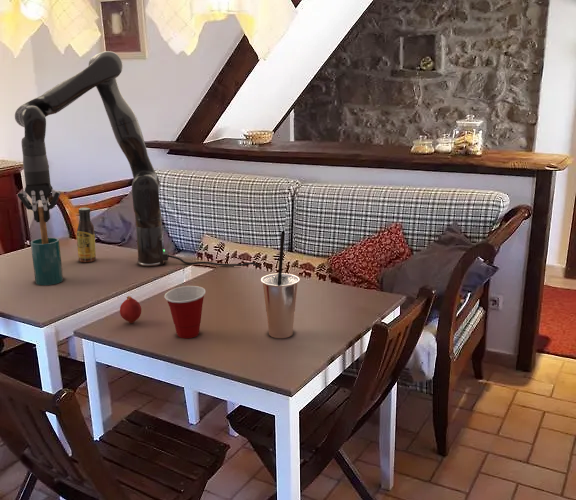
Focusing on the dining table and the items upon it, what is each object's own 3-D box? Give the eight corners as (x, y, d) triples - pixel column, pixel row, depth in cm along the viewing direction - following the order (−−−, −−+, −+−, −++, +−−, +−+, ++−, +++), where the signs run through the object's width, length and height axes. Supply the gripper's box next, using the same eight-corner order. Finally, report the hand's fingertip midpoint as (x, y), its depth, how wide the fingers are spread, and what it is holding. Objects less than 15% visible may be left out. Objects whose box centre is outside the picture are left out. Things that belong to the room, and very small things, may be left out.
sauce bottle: (75, 262, 236) (69, 209, 230) (85, 257, 242) (80, 206, 236) (90, 263, 234) (85, 210, 229) (100, 259, 240) (95, 207, 234)
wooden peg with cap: (57, 262, 216) (50, 204, 211) (53, 267, 211) (46, 208, 206) (42, 263, 216) (35, 205, 210) (38, 267, 211) (30, 208, 205)
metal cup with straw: (284, 346, 162) (283, 232, 154) (252, 335, 169) (249, 225, 161) (310, 333, 170) (311, 224, 162) (279, 323, 177) (277, 218, 169)
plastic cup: (159, 333, 171) (156, 291, 168) (194, 323, 178) (192, 282, 174) (179, 346, 163) (176, 302, 160) (215, 335, 169) (213, 292, 166)
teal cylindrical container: (66, 276, 220) (61, 237, 216) (59, 284, 211) (55, 243, 207) (39, 277, 219) (34, 238, 215) (32, 285, 210) (27, 244, 207)
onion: (131, 317, 182) (129, 291, 180) (146, 321, 180) (144, 294, 177) (116, 324, 178) (114, 297, 175) (131, 328, 175) (129, 300, 173)
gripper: (10, 171, 201) (17, 225, 205) (55, 170, 202) (61, 223, 206) (17, 167, 208) (24, 219, 212) (61, 166, 209) (66, 218, 214)
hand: (42, 221), depth 209 cm, fingers closed on wooden peg with cap
